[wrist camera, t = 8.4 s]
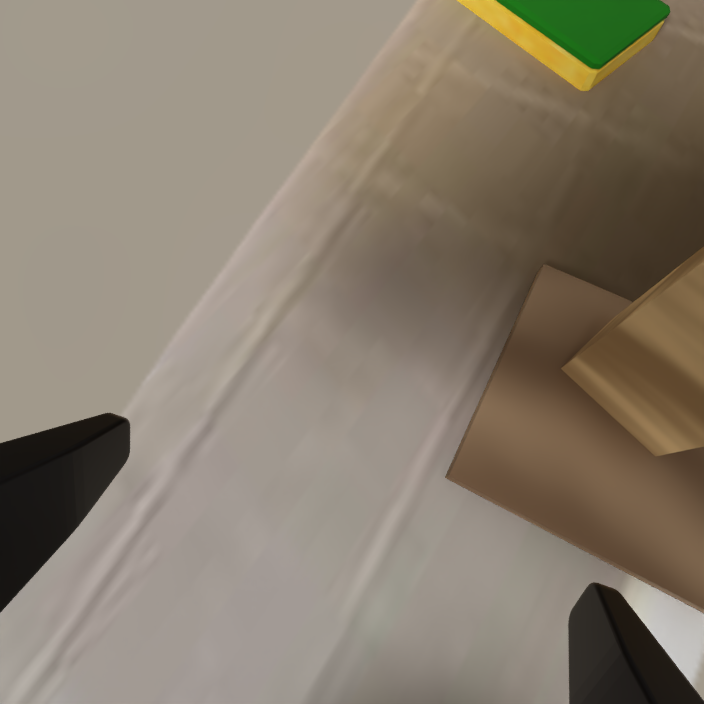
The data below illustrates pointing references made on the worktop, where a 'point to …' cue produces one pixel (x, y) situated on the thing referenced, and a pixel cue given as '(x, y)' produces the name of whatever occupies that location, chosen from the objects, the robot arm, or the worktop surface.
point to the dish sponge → (576, 32)
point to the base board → (581, 449)
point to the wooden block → (653, 363)
